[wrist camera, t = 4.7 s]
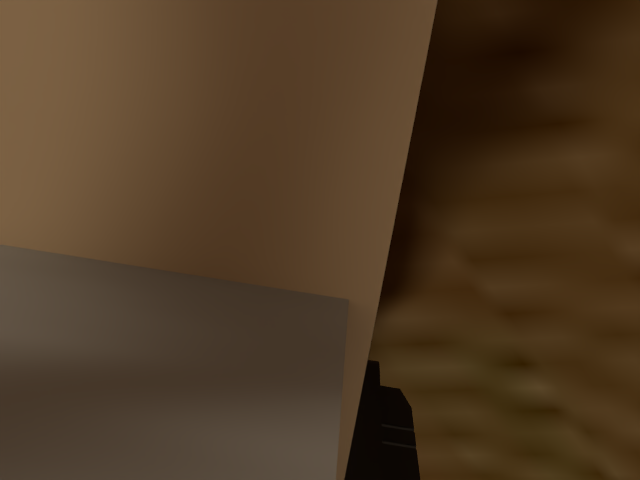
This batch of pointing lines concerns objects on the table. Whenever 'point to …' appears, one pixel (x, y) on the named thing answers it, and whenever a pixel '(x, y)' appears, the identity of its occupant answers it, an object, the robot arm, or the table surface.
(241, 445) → the grey block
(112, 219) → the tan long block
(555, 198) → the table surface
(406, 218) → the table surface
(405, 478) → the robot arm
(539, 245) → the table surface
